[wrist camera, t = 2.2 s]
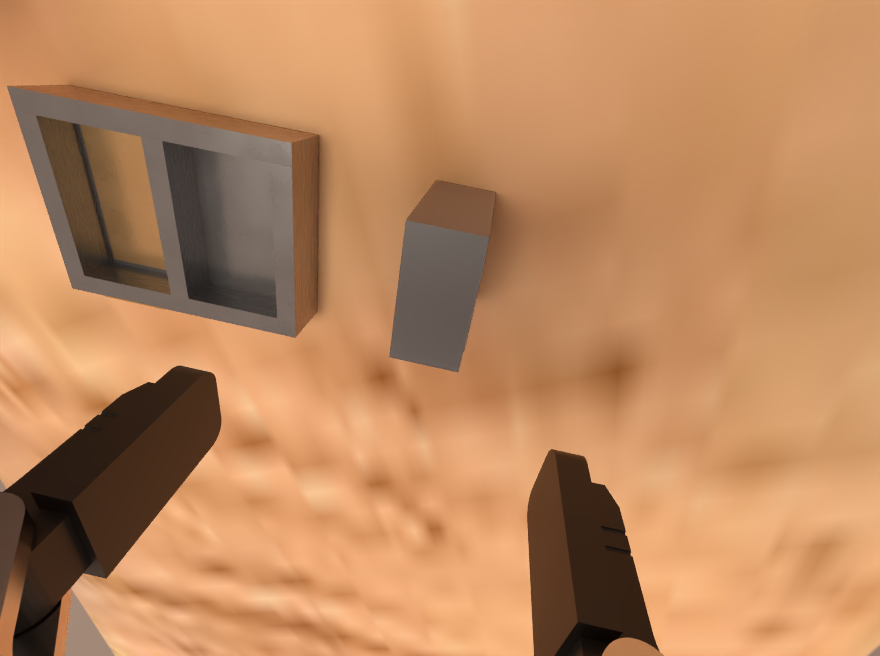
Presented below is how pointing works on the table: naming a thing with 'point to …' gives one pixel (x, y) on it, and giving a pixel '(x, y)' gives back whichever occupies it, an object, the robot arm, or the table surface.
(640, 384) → the table surface
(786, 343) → the table surface
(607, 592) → the robot arm
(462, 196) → the rectangular block
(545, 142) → the table surface
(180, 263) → the rack
